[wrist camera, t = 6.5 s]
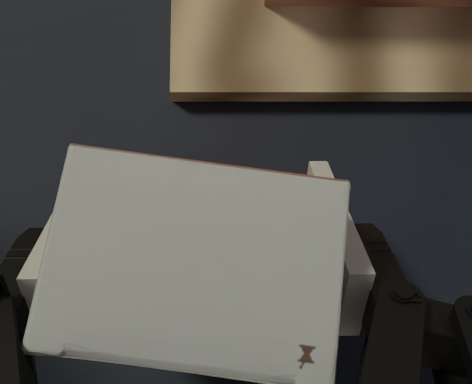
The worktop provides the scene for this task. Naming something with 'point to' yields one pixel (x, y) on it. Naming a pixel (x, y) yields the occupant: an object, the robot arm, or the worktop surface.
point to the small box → (192, 268)
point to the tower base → (320, 50)
